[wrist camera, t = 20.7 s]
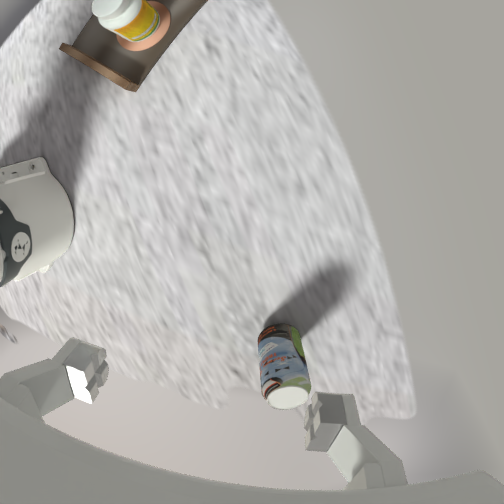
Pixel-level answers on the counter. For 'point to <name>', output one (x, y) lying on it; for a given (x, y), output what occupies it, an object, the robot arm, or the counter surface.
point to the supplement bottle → (127, 18)
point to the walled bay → (131, 44)
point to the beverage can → (283, 367)
